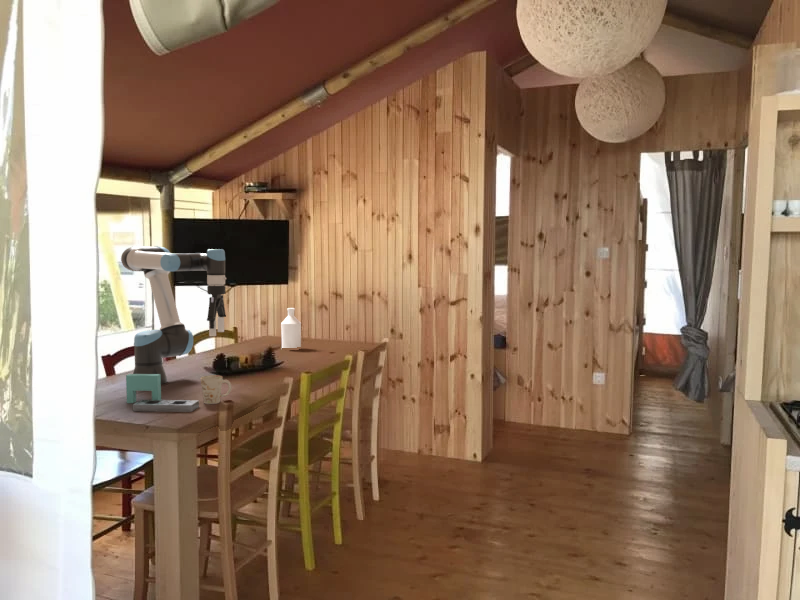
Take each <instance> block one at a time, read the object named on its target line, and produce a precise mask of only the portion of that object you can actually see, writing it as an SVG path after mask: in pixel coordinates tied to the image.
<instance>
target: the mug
mask: <svg viewBox="0 0 800 600" xmlns="http://www.w3.org/2000/svg"><path fill="white" fill-rule="evenodd" d="M223 378H224V377H223V376H222V375H219V374H218V375H215V374H213V375H203V376H201V377H200V386H201V392H202V398H203V403H204V404H206V405H216V404H220V402H221V398H223V397H227V396H228V395H229V394H230V393H231V392H232V383H231V382H230V380H228V379H223ZM223 384H227V386H228V387H227V388H228V389H227V391H226V393H225V394H224V393H223V394H222V387H223Z"/></svg>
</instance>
